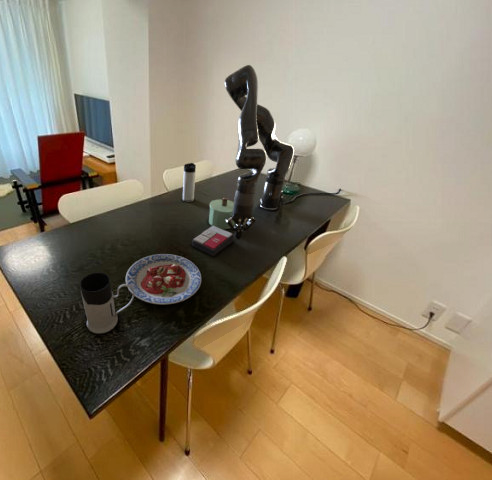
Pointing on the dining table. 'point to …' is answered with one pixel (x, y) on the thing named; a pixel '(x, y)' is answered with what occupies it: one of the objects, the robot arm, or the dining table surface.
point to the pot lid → (222, 205)
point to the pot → (219, 219)
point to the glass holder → (100, 302)
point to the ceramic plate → (163, 279)
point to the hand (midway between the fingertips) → (237, 238)
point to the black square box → (212, 240)
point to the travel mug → (189, 182)
